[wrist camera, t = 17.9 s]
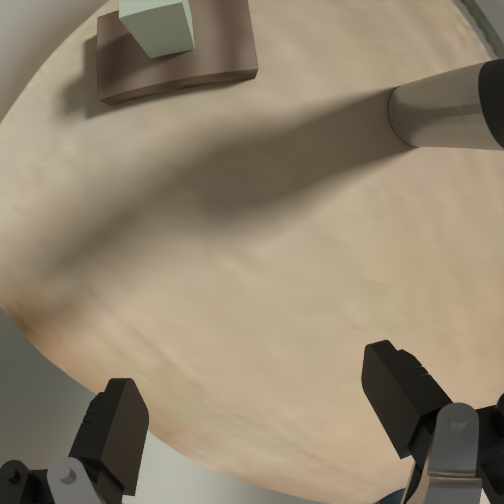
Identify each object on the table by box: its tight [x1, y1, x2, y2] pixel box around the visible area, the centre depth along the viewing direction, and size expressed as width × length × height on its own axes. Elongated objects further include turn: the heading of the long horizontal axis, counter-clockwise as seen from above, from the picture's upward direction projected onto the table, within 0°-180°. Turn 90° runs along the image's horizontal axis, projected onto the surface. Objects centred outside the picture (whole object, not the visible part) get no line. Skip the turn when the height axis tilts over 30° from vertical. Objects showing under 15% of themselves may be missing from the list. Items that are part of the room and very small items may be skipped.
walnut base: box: [97, 0, 258, 105], centre depth 27 cm, size 18×12×4 cm, turn 97°
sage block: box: [119, 0, 195, 59], centre depth 19 cm, size 5×5×11 cm
